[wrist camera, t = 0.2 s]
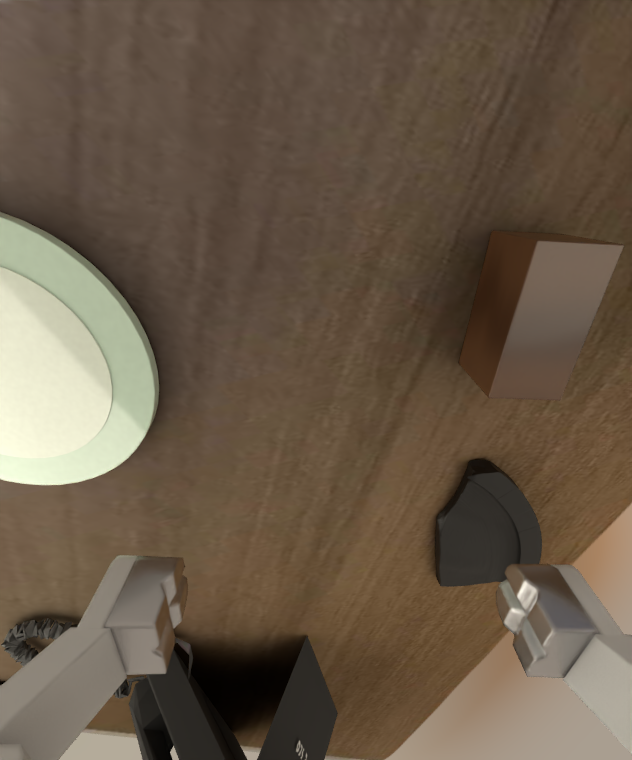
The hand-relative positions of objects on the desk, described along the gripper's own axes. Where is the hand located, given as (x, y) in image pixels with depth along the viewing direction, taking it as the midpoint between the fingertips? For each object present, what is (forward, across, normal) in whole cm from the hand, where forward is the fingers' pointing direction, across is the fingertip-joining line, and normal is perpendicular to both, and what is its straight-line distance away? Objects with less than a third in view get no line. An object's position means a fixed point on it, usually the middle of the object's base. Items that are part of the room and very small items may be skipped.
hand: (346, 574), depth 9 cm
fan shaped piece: (+15, -15, +16) cm, 27 cm away
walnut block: (+15, -11, -3) cm, 19 cm away
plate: (+15, +19, +2) cm, 25 cm away
